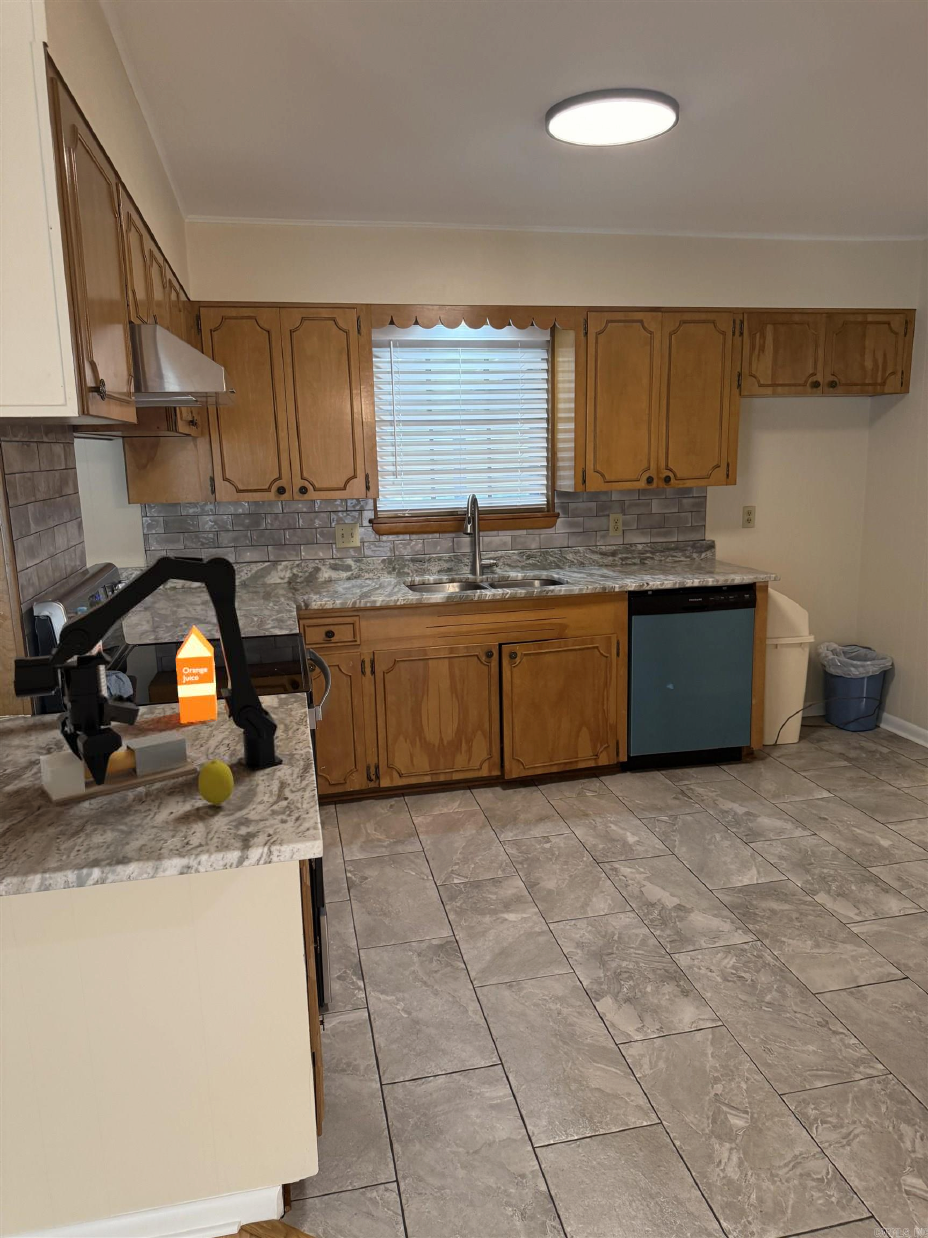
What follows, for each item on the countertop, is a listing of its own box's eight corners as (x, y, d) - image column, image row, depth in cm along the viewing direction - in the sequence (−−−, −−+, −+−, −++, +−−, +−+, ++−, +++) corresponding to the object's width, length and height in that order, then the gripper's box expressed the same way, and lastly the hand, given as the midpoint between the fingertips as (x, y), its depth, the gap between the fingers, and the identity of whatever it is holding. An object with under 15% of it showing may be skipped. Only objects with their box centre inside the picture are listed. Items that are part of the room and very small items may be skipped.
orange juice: (180, 723, 181) (173, 633, 177) (182, 712, 189) (175, 625, 185) (217, 720, 183) (211, 631, 179) (218, 709, 191) (212, 623, 187)
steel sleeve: (187, 765, 153) (185, 737, 152) (137, 777, 148) (134, 748, 147) (176, 757, 158) (174, 730, 157) (127, 768, 152) (125, 740, 151)
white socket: (85, 792, 142) (82, 762, 141) (53, 800, 139) (50, 769, 138) (73, 778, 148) (70, 750, 147) (42, 785, 145) (39, 756, 144)
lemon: (222, 796, 141) (218, 751, 140) (241, 804, 138) (238, 758, 136) (193, 807, 137) (189, 761, 136) (213, 815, 134) (209, 768, 132)
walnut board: (197, 772, 153) (197, 768, 152) (55, 806, 138) (55, 802, 138) (178, 757, 160) (177, 753, 160) (42, 788, 146) (41, 784, 146)
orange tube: (163, 764, 152) (162, 746, 151) (88, 782, 144) (86, 762, 143) (157, 759, 154) (155, 740, 154) (82, 776, 147) (80, 756, 146)
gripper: (149, 694, 141) (157, 781, 144) (116, 672, 155) (124, 752, 158) (79, 706, 134) (88, 797, 137) (51, 683, 148) (61, 766, 151)
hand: (93, 776), depth 146 cm, fingers open, 9 cm apart
